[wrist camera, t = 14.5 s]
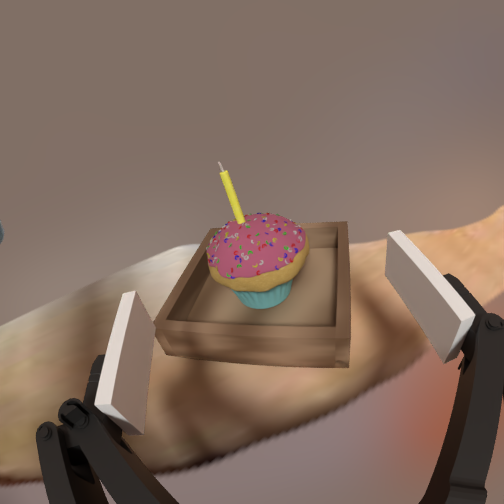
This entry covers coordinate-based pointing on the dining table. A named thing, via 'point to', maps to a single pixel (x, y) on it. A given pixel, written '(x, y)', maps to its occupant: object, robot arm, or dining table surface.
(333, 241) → the tray
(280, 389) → the dining table surface
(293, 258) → the cupcake
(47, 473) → the robot arm
